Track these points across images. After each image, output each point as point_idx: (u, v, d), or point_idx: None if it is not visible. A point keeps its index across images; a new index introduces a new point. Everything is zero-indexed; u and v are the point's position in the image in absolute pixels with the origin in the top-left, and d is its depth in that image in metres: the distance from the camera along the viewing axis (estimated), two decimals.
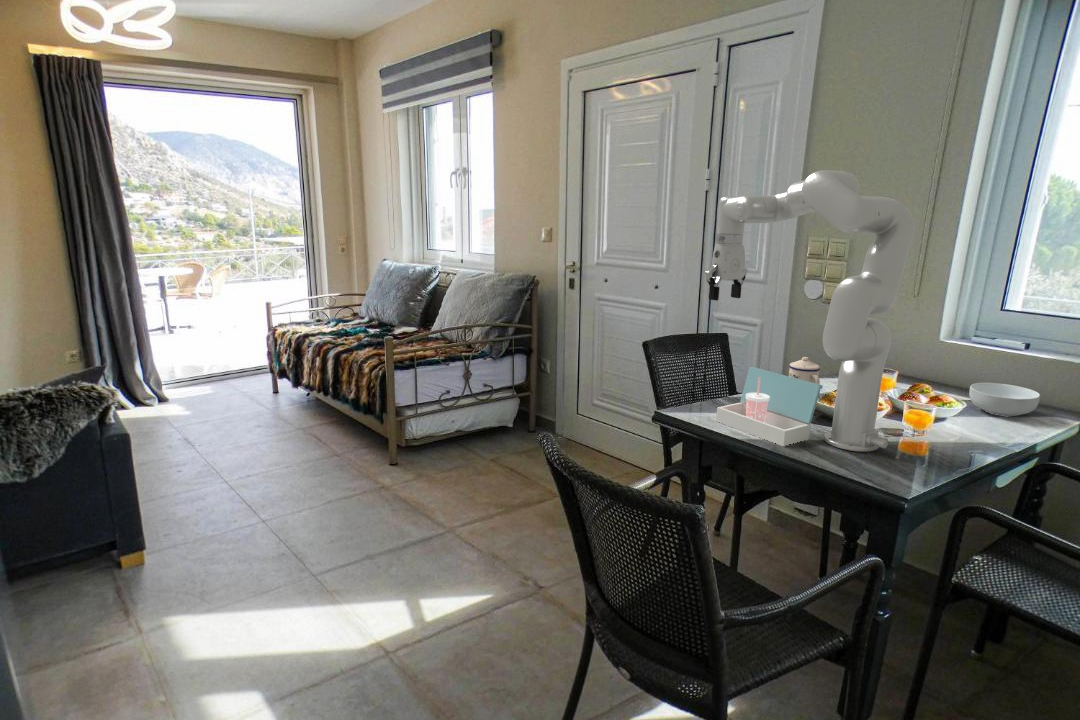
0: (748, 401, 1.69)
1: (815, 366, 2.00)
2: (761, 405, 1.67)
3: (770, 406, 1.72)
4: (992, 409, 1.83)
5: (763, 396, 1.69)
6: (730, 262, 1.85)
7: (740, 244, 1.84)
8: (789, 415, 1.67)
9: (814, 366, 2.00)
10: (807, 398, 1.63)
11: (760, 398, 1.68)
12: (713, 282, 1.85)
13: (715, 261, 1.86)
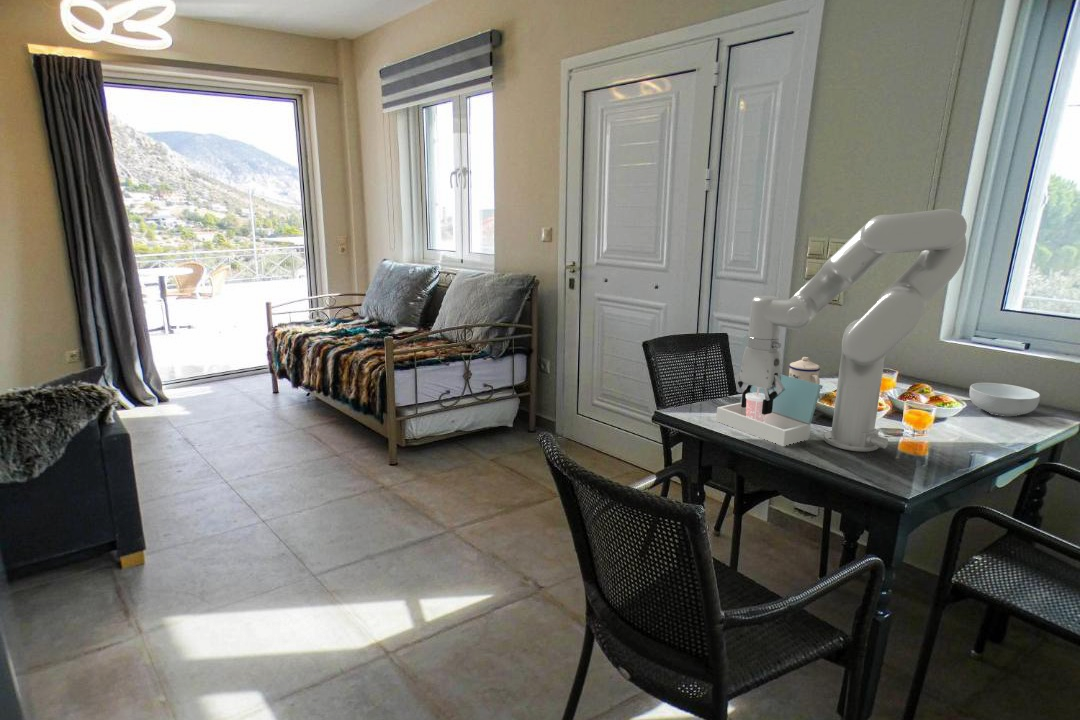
0: (748, 401, 1.69)
1: (815, 366, 2.00)
2: (761, 405, 1.67)
3: None
4: (992, 409, 1.83)
5: (763, 396, 1.69)
6: None
7: None
8: (789, 415, 1.67)
9: (814, 366, 2.00)
10: (807, 398, 1.63)
11: (760, 398, 1.68)
12: None
13: (775, 370, 1.63)
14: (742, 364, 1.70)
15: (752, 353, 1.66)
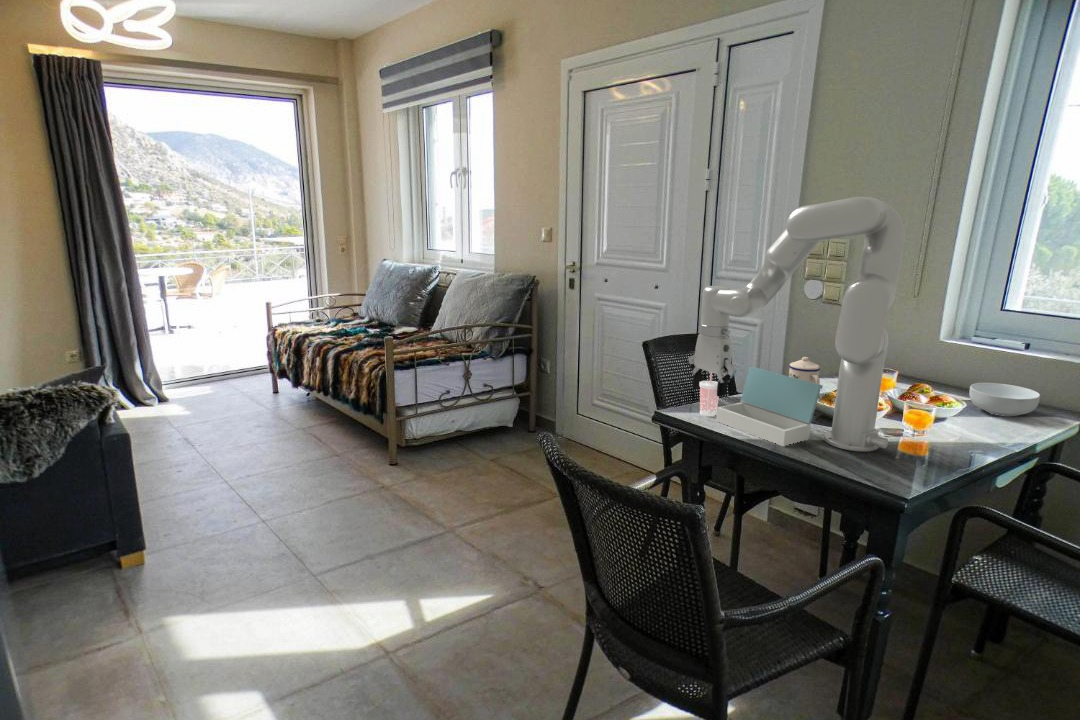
0: (701, 388, 1.80)
1: (815, 366, 2.00)
2: (713, 392, 1.79)
3: (770, 406, 1.72)
4: (992, 409, 1.83)
5: (715, 384, 1.81)
6: None
7: None
8: (789, 415, 1.67)
9: (814, 366, 2.00)
10: (807, 398, 1.63)
11: (712, 385, 1.79)
12: None
13: (724, 356, 1.74)
14: (696, 350, 1.81)
15: (704, 340, 1.77)
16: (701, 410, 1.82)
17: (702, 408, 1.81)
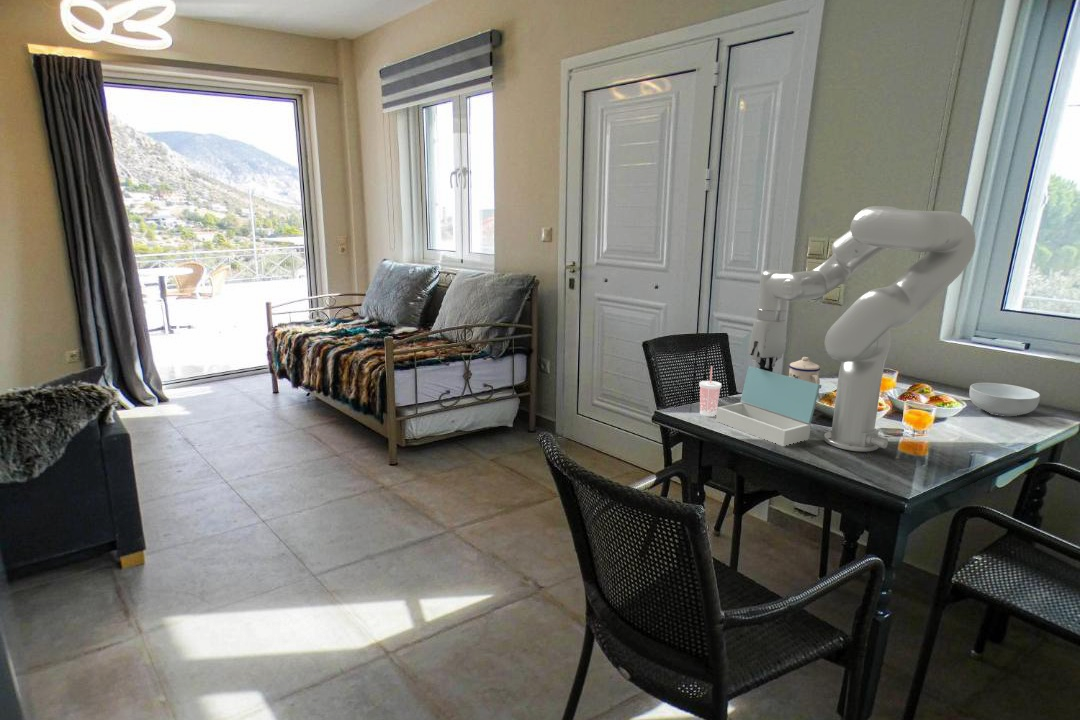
0: (701, 388, 1.80)
1: (815, 366, 2.00)
2: (713, 392, 1.79)
3: (770, 406, 1.72)
4: (992, 409, 1.83)
5: (715, 384, 1.81)
6: None
7: None
8: (789, 415, 1.67)
9: (814, 366, 2.00)
10: (806, 398, 1.63)
11: (712, 385, 1.79)
12: None
13: None
14: (765, 340, 1.73)
15: (776, 326, 1.73)
16: (701, 410, 1.82)
17: (702, 408, 1.81)
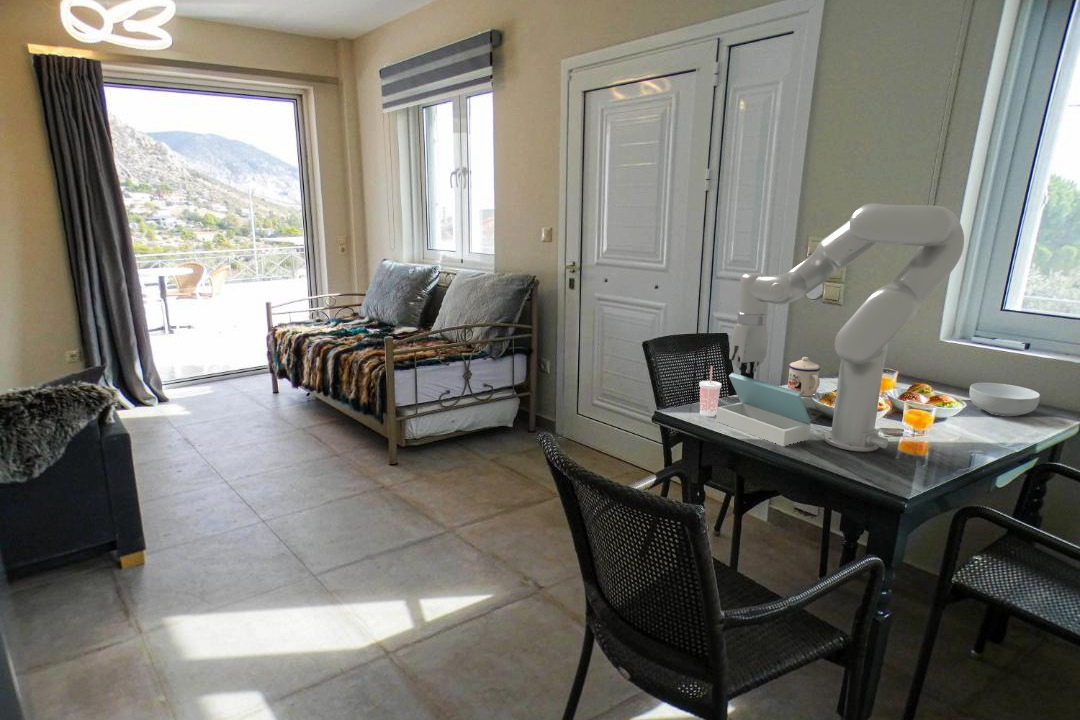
0: (701, 388, 1.80)
1: (815, 366, 2.00)
2: (713, 392, 1.79)
3: (768, 408, 1.72)
4: (992, 409, 1.83)
5: (715, 384, 1.81)
6: None
7: None
8: (789, 416, 1.67)
9: (814, 366, 2.00)
10: (794, 405, 1.61)
11: (712, 385, 1.79)
12: None
13: None
14: (745, 345, 1.69)
15: (756, 330, 1.69)
16: (701, 410, 1.82)
17: (702, 408, 1.81)
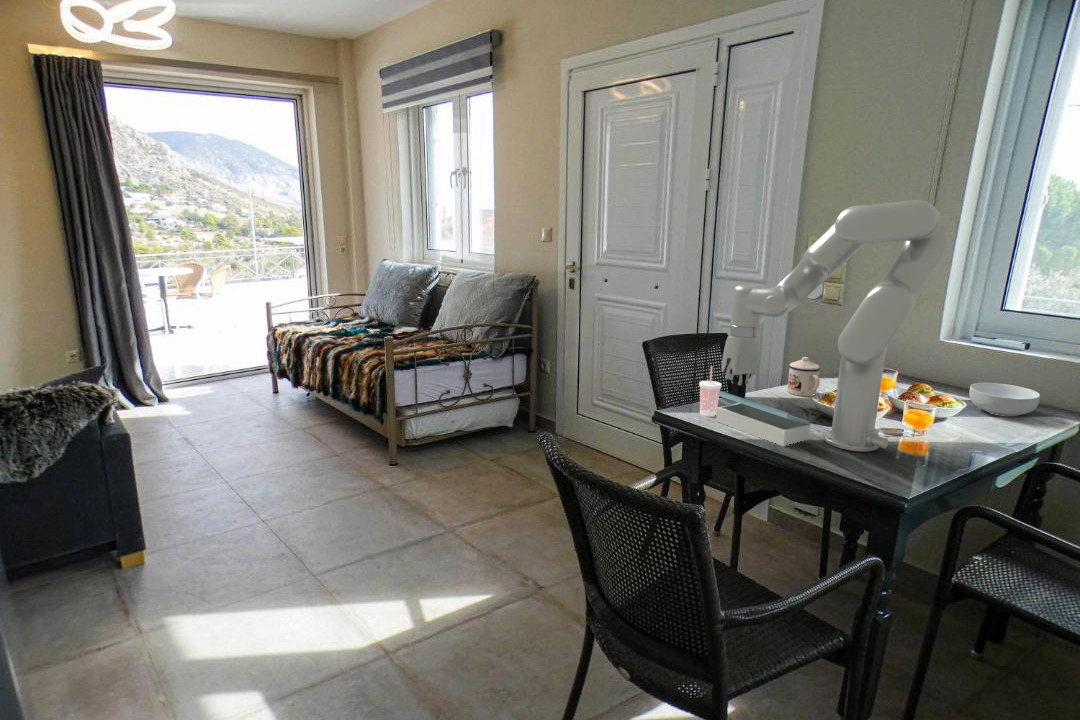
0: (701, 388, 1.80)
1: (815, 366, 2.00)
2: (713, 392, 1.79)
3: None
4: (992, 409, 1.83)
5: (715, 384, 1.81)
6: None
7: None
8: None
9: (814, 366, 2.00)
10: None
11: (712, 385, 1.79)
12: None
13: None
14: (737, 357, 1.68)
15: (749, 343, 1.69)
16: (701, 410, 1.82)
17: (702, 408, 1.81)
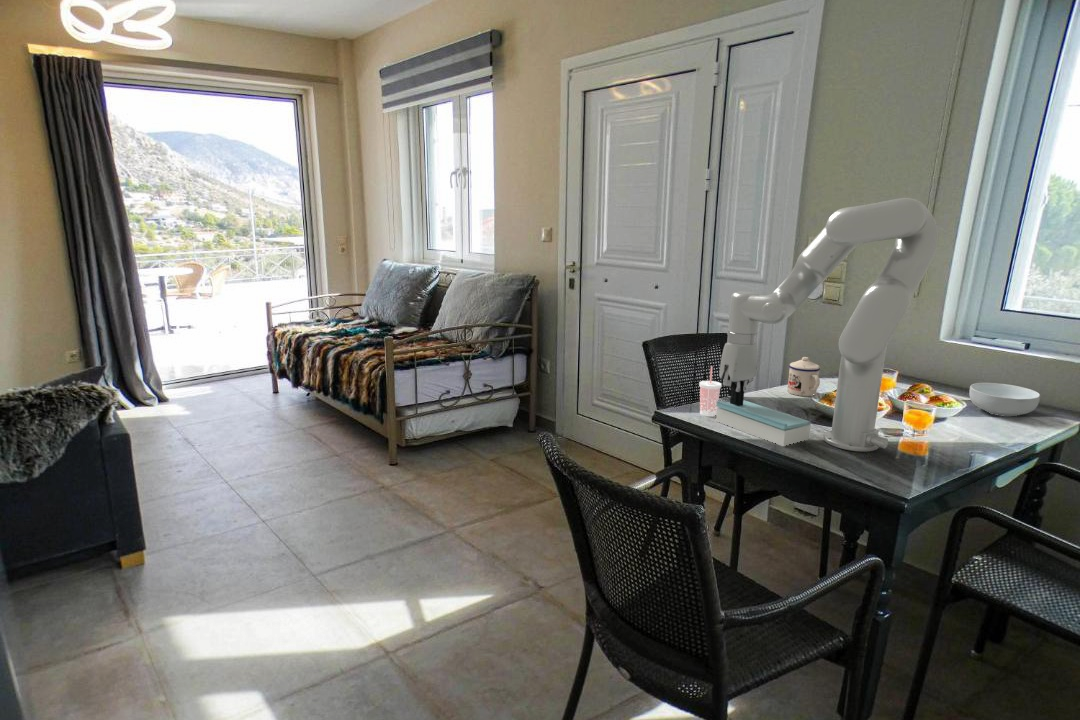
0: (701, 388, 1.80)
1: (815, 366, 2.00)
2: (713, 392, 1.79)
3: None
4: (992, 409, 1.83)
5: (715, 384, 1.81)
6: None
7: None
8: None
9: (814, 366, 2.00)
10: None
11: (712, 385, 1.79)
12: None
13: None
14: (735, 364, 1.68)
15: (746, 349, 1.69)
16: (701, 410, 1.82)
17: (702, 408, 1.81)
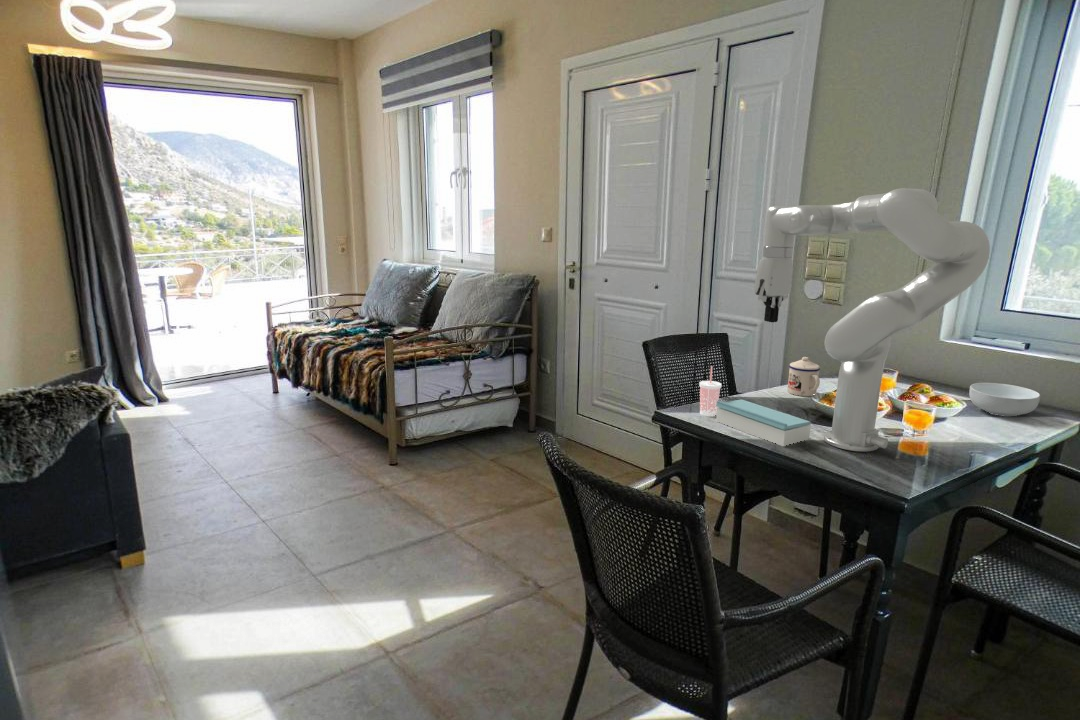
0: (701, 388, 1.80)
1: (815, 366, 2.00)
2: (713, 392, 1.79)
3: None
4: (992, 409, 1.83)
5: (715, 384, 1.81)
6: None
7: None
8: None
9: (814, 366, 2.00)
10: None
11: (712, 385, 1.79)
12: None
13: None
14: (771, 278, 1.69)
15: (782, 264, 1.69)
16: (701, 410, 1.82)
17: (702, 408, 1.81)
